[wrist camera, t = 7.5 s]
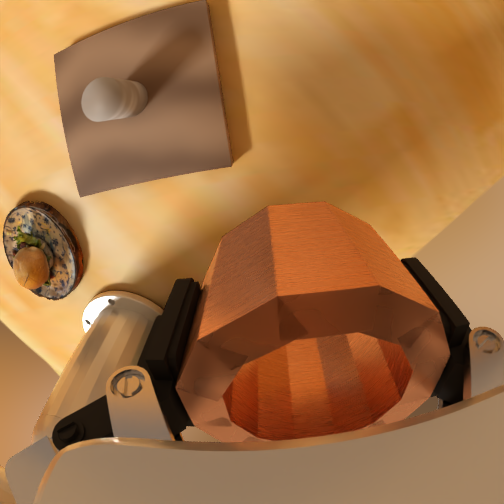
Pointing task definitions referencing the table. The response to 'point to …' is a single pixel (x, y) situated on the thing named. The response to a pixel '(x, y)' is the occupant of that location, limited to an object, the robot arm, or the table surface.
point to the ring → (308, 331)
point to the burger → (42, 250)
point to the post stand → (144, 101)
